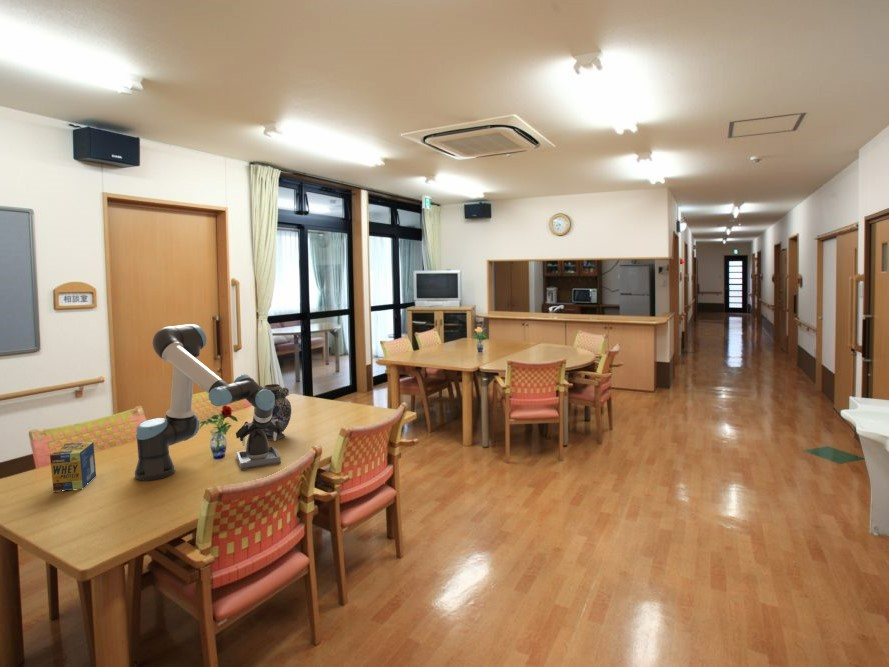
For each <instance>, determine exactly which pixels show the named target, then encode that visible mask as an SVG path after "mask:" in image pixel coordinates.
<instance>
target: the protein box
mask: <svg viewBox="0 0 889 667" xmlns="http://www.w3.org/2000/svg"><path fill="white" fill-rule="evenodd" d="M94 447H95V446H94V441H89V442H73V443H72V442H71V443H65V444H64V445H62V446H61V447H59V448H58V449H57V450H55V451H54V452H53V453H52V454H50V455H49V458H50V471H51V480H52V490H53V491H62V490H73V489H82V488H83V487H85V486H86V485H87V483H89V482H90V481H91V480H92V479H93V478H94V477H95V476H96V477H97V471H96V470H97V469H96V459H95V448H94ZM96 477H95V478H96ZM95 478H94V479H95ZM94 479H93V480H94ZM93 480H92V481H93ZM92 481H91V482H92ZM91 482H90V483H91ZM90 483H89V484H90ZM86 487H87V486H86ZM86 487H85V488H86Z"/></svg>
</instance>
